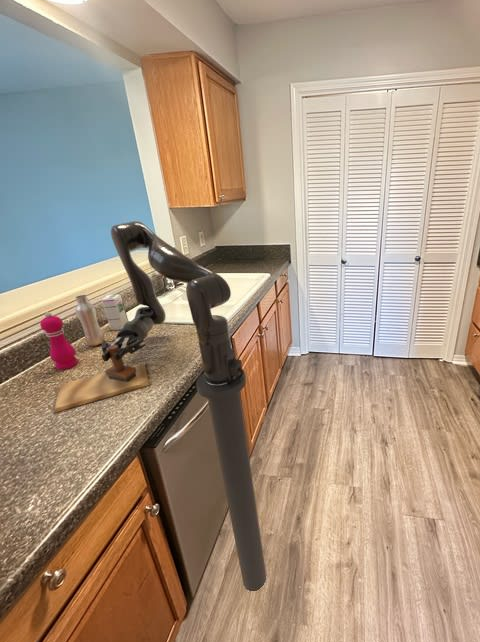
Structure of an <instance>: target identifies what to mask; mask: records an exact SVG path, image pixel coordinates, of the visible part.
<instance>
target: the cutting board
mask: <svg viewBox="0 0 480 642" xmlns="http://www.w3.org/2000/svg"><path fill="white" fill-rule="evenodd" d="M129 366H130V367H135V368H136V372H135V373H136V376H135V377H134V378H133V379H131V380H130V381H128V382H124V381H119V380H113V379H109V377H108V375H106V373H105V372H101V373H98V374H94V375H91V376H87V377H83V378H80V379H75V380H72V381H68V382H64V383H61V384H60V385H59V388H58V393H57V397H56V402H55V406H54V412H55V413H58V412H62V411H65V410H67V409H68V410H69V409H72V408H75V407H79V406H82V405H85V404H86V405H87V404H90V403H92V402H96V401H100V400H103V399H107V398H110V397H113V396H116V395H119V394H123V393H127V392H130V391H133V390H137V389H140V388H144V387H147V386H150V383H149V378H148V374H147V369H146V364H145V362H141V363H138V364H133V365H129Z"/></svg>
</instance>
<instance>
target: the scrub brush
mask: <svg viewBox="0 0 480 642" xmlns="http://www.w3.org/2000/svg"><path fill="white" fill-rule="evenodd" d="M118 350H119V347H118V345H111V346H109V347H108V351H109V354H110V357H111V358H110V360H111V362H112V366H111V367H109V368H107V369H106V370H105V371H104V373H106V375H108V377H109V379H113V380H119V381H124V382H128V381H130V380H131V379H133V378H134V377H135V376H136V373H135V372H136V368H135V367H130V366H131V365H125V363H124V359H123V357H122V358H121V359H120V360H118V361H116V360H115V357H114V354H115V353H116V352H117V351H118Z"/></svg>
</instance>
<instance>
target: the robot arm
mask: <svg viewBox="0 0 480 642" xmlns="http://www.w3.org/2000/svg"><path fill="white" fill-rule="evenodd" d="M110 236H111V239H112V243H113V245H114V248H115V250H116V252H117V254H118V257H119V259H120V261H121V263H122V265H123V267H124V270H125V272H126V274H127V276H128V278H129V282H130V284H131V287H132V291H133V294H134V297H135V301H136V303H137V304H138V305H141V307H139V308H137V309H136V311H135V315H134V318H133V319H132V320H131V321H129V323H128V324H127V325H126V326H125V327H123V328H122V329H121V330H118V333H117V335H116V337H115V338H114V339H112V340H111V341H110V342H107V340H104V341H103V342H102V343H101V351H102V354H101V358H102V360H103V362H108V361H109V360H111V357H110V354H109V351H108V347H109V346H111V345H118V347H119V350H118V351H117V352H116V353H115V354H114V357H115V360H116V361H118V360H120V359H121V358H122V359H123V357H124V356H126V355H128V354H130V355H132V354H134V353H136V352H137V351H139V350H141V349H143V348H144V347H146V342H145V339H146V337H147V336H148V335H149V333H150V332H151V331H152V329H153V328H154V325H162V324H163V323H164V322H165V321H166V318H167V315H166V311H165V309H164V307H163V305H162V304H161V302H160V301H159V299H158V297H157V295H156V291H155V287H154V283H153V280H152V278H151V277H150V276H149V274H147V272H145V271H144V270H143V269H142V268H141V267H140V266H139V265H137V263H136V262H135V261H134V260H133V257H132V254H131V252H133V251H138V250H141V249H147V250H148V252H147V259H148V263H149V266H150V267H151V268H152V269H153V270H155V271H156V272H157V273H158V274H160V275H161V276H162V277H164V278H165V279H168V280H171V281H175V282H178V283H184V284H186V287H185V292H186V293H185V295H186V298H187V303H188V306H189V311H190V314H191V319H192V322H193V324H194V327H195V330H196V335H197V341H198V346H199V352H200V356H201V361H202V366H203V373H204V372H205V377H206V383H207V384H208V385H210V386H224V385H227V384H232V382H233V381H234V379H235V378H236V376H237V375H238V374H239V372H240V373H241V374H240V375H239V377H238V379H240V378H241V377H242V376H243V371H244V369H243V364H242V359H236V352H235V348H234V347H233V348H232V343H231V336H230V328H229V323H228V319H227V318H226V317H225V316H223V315H220V314H219V315H218V314H212V310H211V309H214V308H217V307H219V306H222V305H223V304H226V303H227V302H229V300H230V298H231V295H232V291H231V287H230V285H229V283H228V282H227V280H225V278H224V277H222V276H221V275H220V274H218V273H216V272H214V271H213V270H210V269H208V268H206V267H205V266H202V265H201V264H198V263H197V262H196V261H195V260H193V259H191V258H189V257H188V256H186V255H184V254H183V253H182V252H181V251H180V250H178V249H177V248H175V247H174V246H173V245H170V244H169V243H167V241H165V240H164V239H162V238H161V237H159V236H158V235H157V234H156V233H155V232H153V230H151V229H150V228H149V227H148V226H147V225H146V224H144V223H143V222H141V221H137V220H133V221H128V222H123V223H119V224H115V225H112V226H111V228H110Z"/></svg>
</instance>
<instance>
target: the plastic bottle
mask: <svg viewBox="0 0 480 642" xmlns="http://www.w3.org/2000/svg"><path fill="white" fill-rule="evenodd" d="M75 301H76V303H77V305H76V307H75V313H76V316H77V317H78V319H79V321H80V324H81V326H82V330H83V333H84V340H85V342H86V344H87V345H88V346H90V347H95V346H99V345H102V342H103V341H105V335H104V333H103V331H102V329H101V327H100V325H99V322H98V318H97V311H96V307H95V306H94V305H93V303H91V302H89V298H88V296H87V294H80V295H77V296H75Z"/></svg>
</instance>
